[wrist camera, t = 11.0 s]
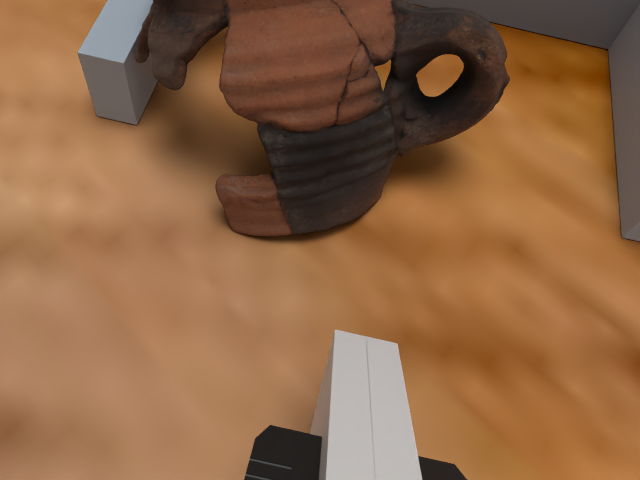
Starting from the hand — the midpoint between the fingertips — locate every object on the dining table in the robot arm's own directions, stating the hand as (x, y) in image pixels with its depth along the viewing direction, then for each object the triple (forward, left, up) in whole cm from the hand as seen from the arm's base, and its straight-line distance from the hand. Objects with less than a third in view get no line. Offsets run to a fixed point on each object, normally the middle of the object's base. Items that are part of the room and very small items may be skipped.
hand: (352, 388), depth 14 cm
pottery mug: (-6, +9, -4) cm, 11 cm away
